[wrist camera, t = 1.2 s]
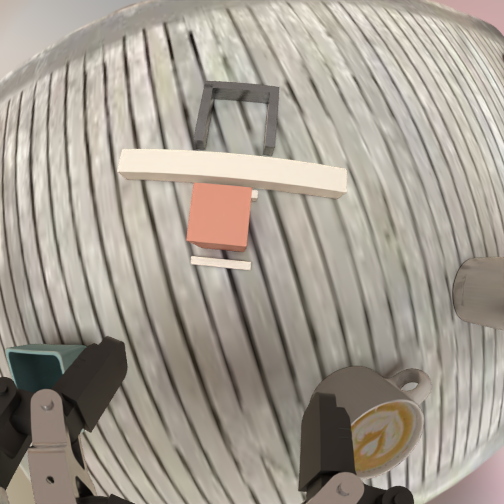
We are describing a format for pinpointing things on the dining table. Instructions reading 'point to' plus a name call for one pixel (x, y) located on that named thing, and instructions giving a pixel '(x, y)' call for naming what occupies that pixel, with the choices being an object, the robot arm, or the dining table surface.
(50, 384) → the flower pot
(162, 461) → the dining table surface
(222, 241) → the block
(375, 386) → the coffee mug
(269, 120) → the keeper bracket
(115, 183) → the dining table surface
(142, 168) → the strip
